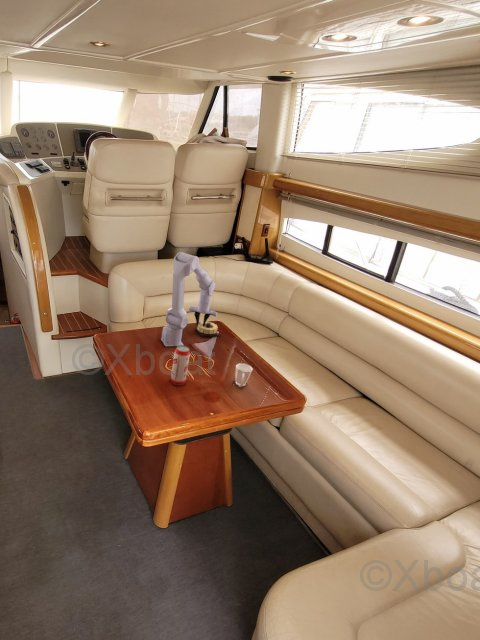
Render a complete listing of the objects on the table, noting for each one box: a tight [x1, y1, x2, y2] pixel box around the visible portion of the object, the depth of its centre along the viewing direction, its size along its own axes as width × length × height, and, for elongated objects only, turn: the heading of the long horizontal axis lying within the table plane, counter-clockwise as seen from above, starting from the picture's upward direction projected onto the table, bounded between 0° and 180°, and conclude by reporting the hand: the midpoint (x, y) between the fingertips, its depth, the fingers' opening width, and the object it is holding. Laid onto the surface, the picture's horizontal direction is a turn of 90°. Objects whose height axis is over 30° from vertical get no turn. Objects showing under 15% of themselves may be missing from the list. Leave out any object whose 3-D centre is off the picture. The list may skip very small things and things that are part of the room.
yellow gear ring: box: [196, 321, 219, 334], centre depth 205 cm, size 10×10×2 cm
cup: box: [234, 363, 254, 388], centre depth 161 cm, size 7×10×8 cm
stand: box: [195, 323, 219, 338], centre depth 205 cm, size 9×9×6 cm
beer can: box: [170, 345, 191, 386], centre depth 157 cm, size 6×6×16 cm
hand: (200, 325), depth 205 cm, fingers closed on yellow gear ring, 2 cm apart
